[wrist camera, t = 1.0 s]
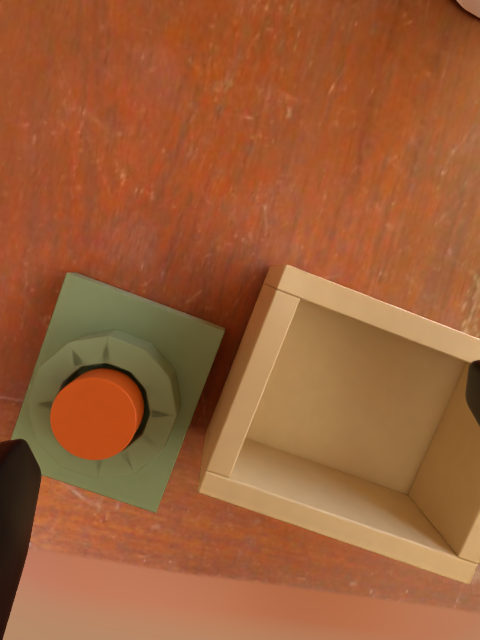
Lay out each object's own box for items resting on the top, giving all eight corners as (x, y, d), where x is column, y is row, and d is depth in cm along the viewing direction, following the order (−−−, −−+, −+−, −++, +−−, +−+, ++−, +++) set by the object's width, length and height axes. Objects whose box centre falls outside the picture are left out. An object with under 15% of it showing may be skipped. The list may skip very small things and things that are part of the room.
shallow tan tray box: (410, 509, 24) (469, 586, 18) (204, 436, 23) (196, 493, 17) (482, 347, 23) (569, 373, 17) (270, 264, 22) (285, 263, 16)
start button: (129, 454, 20) (120, 471, 19) (54, 428, 20) (38, 444, 18) (155, 383, 20) (148, 394, 18) (79, 356, 20) (65, 365, 18)
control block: (159, 501, 23) (149, 535, 20) (14, 452, 23) (-18, 479, 20) (225, 327, 22) (225, 336, 19) (74, 271, 22) (50, 272, 19)
